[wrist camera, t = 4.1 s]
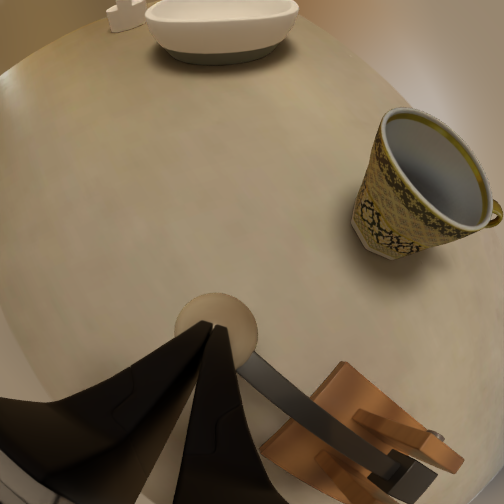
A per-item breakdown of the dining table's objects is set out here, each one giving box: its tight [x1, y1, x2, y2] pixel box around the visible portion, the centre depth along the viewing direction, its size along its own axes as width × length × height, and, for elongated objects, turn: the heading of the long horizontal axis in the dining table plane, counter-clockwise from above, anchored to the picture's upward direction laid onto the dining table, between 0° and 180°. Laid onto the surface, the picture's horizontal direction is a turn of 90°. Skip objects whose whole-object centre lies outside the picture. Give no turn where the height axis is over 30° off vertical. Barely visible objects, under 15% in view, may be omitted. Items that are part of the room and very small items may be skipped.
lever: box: [174, 293, 438, 504], centre depth 10 cm, size 16×3×3 cm, turn 47°
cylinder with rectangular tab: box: [106, 0, 147, 33], centre depth 33 cm, size 9×9×12 cm
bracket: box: [260, 361, 464, 504], centre depth 11 cm, size 11×9×10 cm
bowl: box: [145, 0, 299, 65], centre depth 29 cm, size 22×22×8 cm
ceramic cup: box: [351, 107, 503, 260], centre depth 18 cm, size 13×10×10 cm
